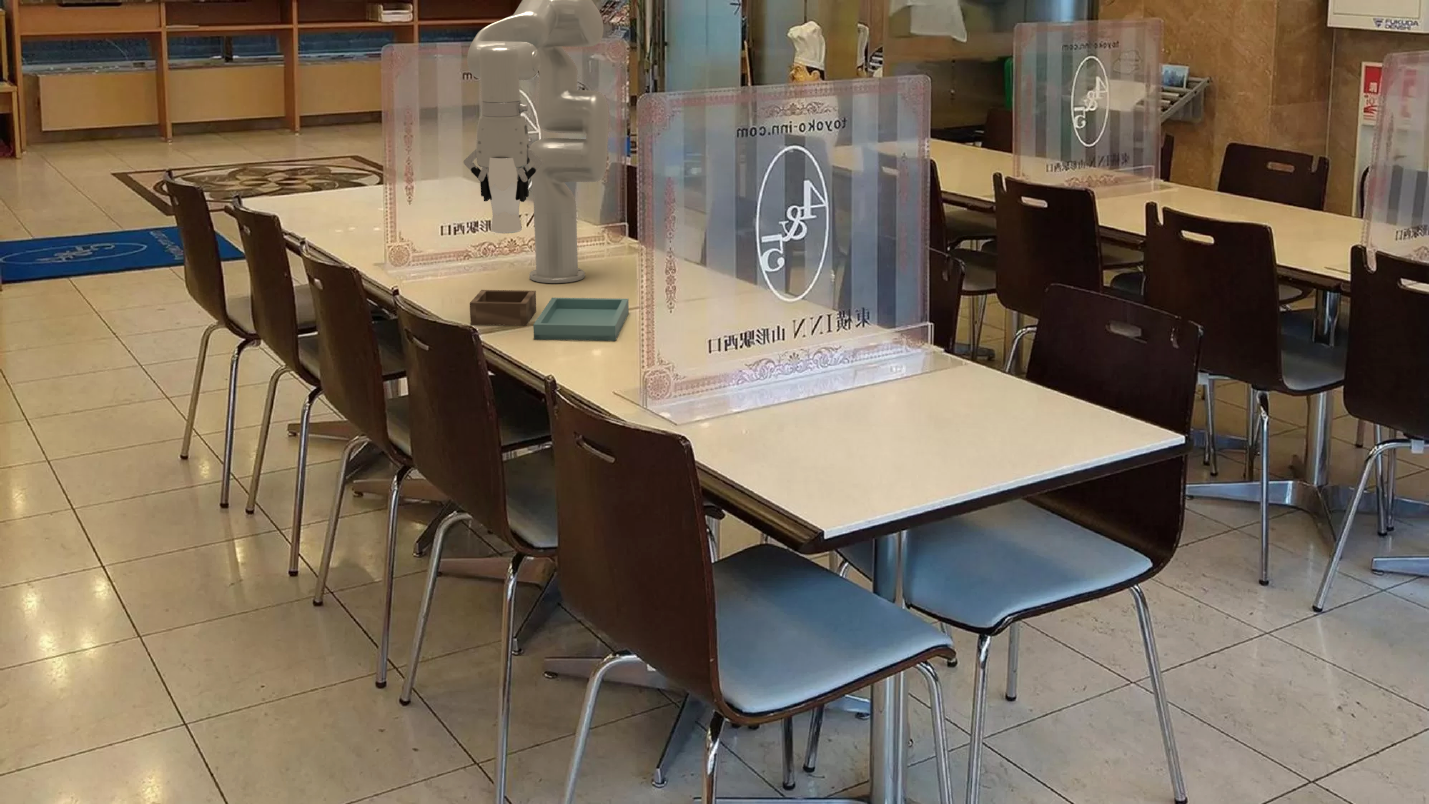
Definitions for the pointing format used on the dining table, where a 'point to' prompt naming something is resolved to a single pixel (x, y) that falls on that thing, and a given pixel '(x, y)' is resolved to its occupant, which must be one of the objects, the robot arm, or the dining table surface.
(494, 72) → the robot arm
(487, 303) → the box
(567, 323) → the tray
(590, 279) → the dining table surface
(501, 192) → the beer glass
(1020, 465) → the dining table surface
